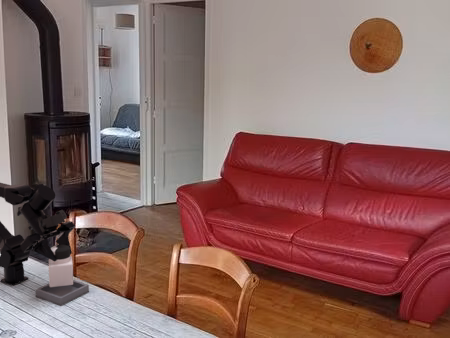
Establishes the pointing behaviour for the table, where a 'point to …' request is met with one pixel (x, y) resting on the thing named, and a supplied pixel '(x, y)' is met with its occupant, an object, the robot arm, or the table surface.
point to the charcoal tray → (62, 292)
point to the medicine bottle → (61, 267)
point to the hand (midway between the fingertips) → (63, 257)
